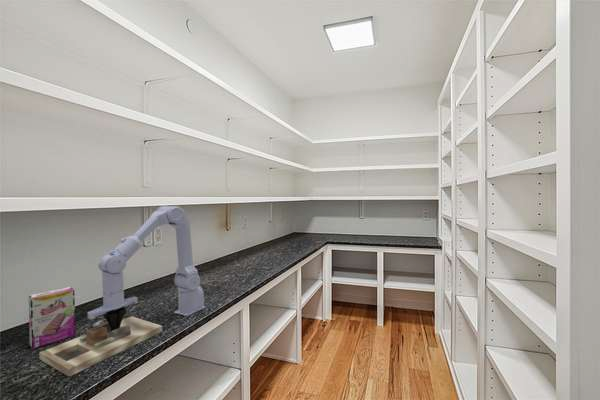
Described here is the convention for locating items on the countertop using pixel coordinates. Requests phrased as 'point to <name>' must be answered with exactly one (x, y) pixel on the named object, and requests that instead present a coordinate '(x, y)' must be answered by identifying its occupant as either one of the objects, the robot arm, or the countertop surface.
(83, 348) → the board
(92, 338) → the walnut block
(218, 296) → the countertop surface
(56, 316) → the candy bar box
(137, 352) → the countertop surface
